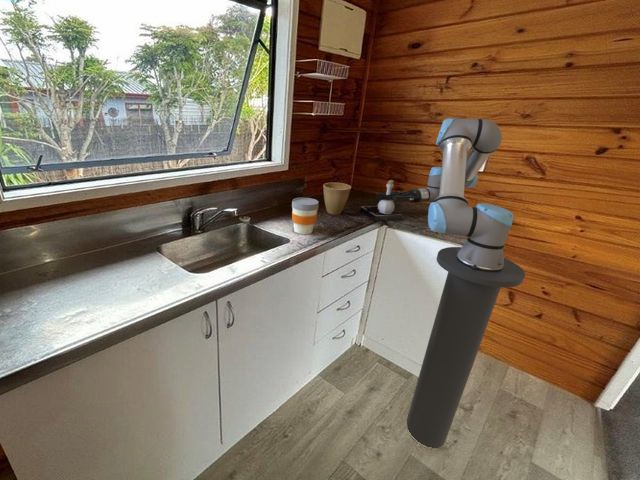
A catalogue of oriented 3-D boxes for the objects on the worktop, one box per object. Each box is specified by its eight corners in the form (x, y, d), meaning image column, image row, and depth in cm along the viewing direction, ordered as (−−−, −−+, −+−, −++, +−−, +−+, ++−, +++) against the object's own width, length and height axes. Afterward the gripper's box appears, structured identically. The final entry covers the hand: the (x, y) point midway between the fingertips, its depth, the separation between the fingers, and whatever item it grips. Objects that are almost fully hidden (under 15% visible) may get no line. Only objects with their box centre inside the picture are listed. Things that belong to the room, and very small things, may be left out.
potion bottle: (397, 213, 169) (403, 181, 162) (386, 215, 165) (392, 183, 158) (383, 208, 176) (389, 178, 169) (373, 210, 172) (378, 179, 165)
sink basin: (384, 210, 179) (386, 201, 177) (401, 219, 164) (403, 210, 162) (359, 211, 176) (360, 202, 175) (373, 221, 162) (375, 211, 160)
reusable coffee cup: (320, 229, 149) (323, 200, 144) (309, 237, 139) (312, 206, 134) (297, 224, 156) (299, 196, 150) (285, 231, 146) (287, 201, 141)
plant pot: (315, 211, 175) (317, 184, 169) (333, 207, 183) (336, 181, 177) (334, 219, 163) (338, 190, 158) (353, 214, 171) (356, 186, 165)
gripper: (424, 206, 164) (385, 207, 161) (407, 198, 178) (370, 199, 174) (427, 192, 162) (387, 193, 158) (409, 185, 176) (372, 186, 172)
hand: (378, 196), depth 166 cm, fingers closed on potion bottle, 2 cm apart
